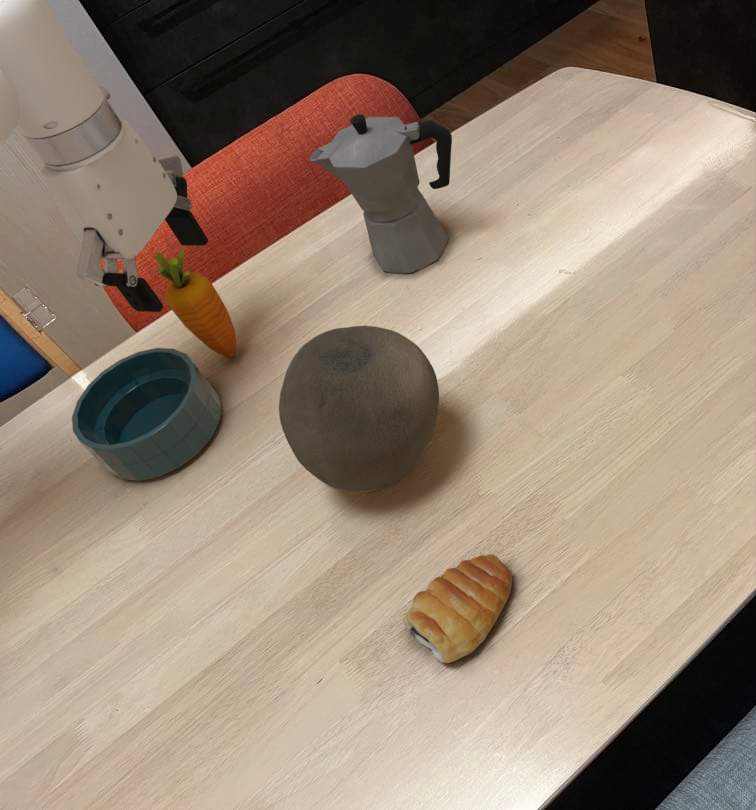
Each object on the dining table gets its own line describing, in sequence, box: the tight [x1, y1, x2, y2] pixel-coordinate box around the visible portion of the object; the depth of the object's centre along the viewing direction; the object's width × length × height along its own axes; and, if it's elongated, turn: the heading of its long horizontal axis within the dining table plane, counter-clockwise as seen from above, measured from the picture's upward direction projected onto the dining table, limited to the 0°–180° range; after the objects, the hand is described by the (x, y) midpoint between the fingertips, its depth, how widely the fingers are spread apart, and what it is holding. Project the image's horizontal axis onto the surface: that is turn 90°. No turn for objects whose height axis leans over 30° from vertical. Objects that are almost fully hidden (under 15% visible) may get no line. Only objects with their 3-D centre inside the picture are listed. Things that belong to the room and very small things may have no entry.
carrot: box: [153, 248, 237, 359], centre depth 97 cm, size 5×5×15 cm
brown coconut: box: [278, 325, 440, 493], centre depth 82 cm, size 14×14×15 cm
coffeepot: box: [309, 113, 453, 275], centre depth 101 cm, size 15×9×18 cm, turn 94°
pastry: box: [402, 553, 513, 664], centre depth 74 cm, size 9×7×4 cm
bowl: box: [71, 347, 222, 482], centre depth 95 cm, size 13×13×6 cm
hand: (173, 275), depth 93 cm, fingers open, 9 cm apart
